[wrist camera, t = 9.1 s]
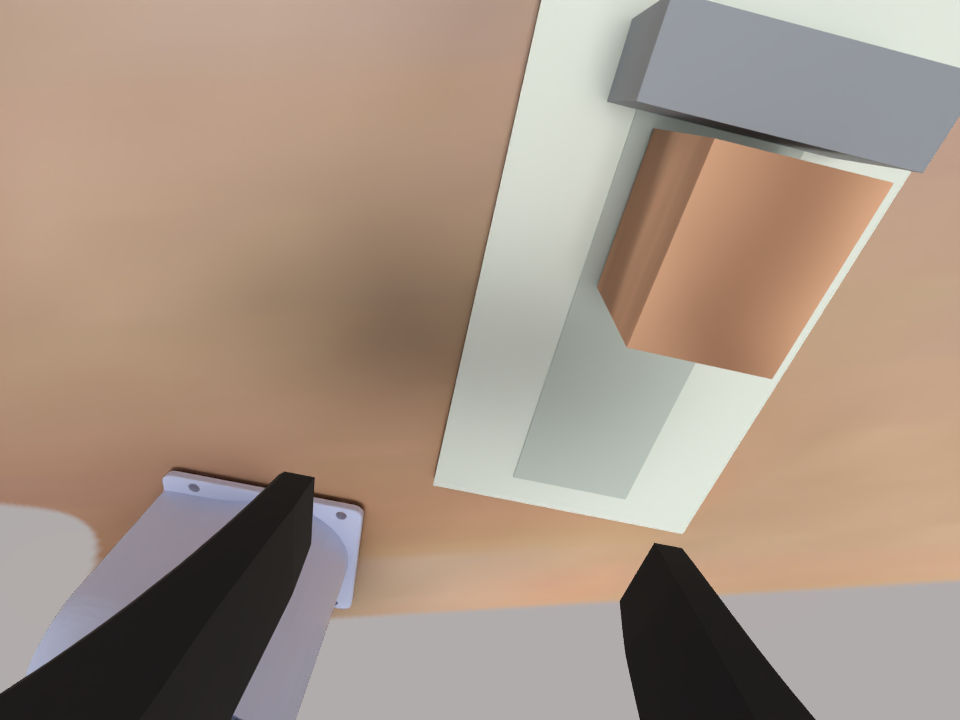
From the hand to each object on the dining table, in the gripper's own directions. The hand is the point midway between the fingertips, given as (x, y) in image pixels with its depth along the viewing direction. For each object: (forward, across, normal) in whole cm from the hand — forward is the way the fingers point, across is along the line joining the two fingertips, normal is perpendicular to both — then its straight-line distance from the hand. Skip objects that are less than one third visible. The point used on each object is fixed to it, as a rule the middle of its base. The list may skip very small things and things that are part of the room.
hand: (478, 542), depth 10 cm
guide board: (+9, -5, -3) cm, 11 cm away
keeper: (+9, -5, -6) cm, 12 cm away
